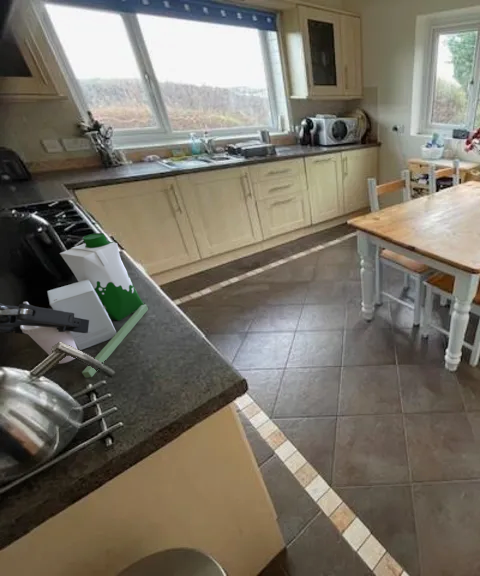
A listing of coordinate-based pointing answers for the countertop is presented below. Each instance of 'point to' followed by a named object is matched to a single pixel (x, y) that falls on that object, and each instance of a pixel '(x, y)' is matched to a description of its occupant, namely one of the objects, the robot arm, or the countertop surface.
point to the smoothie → (49, 338)
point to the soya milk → (104, 274)
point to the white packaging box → (84, 312)
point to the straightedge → (116, 339)
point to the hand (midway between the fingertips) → (67, 328)
